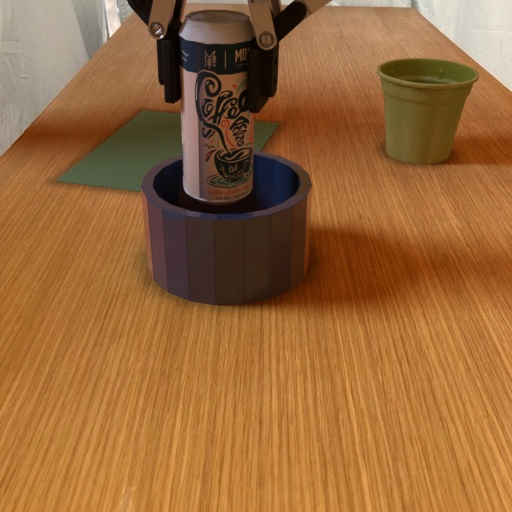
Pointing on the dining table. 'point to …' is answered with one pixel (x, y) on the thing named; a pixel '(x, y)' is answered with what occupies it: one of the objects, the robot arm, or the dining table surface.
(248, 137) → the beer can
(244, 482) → the dining table surface
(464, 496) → the dining table surface
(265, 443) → the dining table surface
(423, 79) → the plant pot
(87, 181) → the mat
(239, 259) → the pot
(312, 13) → the robot arm
